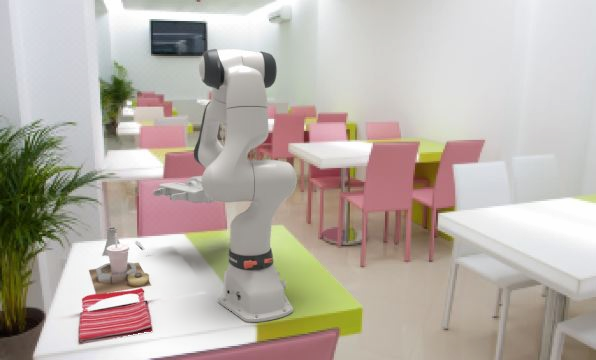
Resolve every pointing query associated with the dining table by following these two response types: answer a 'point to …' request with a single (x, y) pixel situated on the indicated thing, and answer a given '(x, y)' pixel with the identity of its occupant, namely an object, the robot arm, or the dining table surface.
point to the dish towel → (113, 318)
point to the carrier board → (133, 282)
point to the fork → (140, 245)
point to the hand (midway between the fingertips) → (162, 195)
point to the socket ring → (114, 278)
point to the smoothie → (118, 257)
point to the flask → (110, 239)
